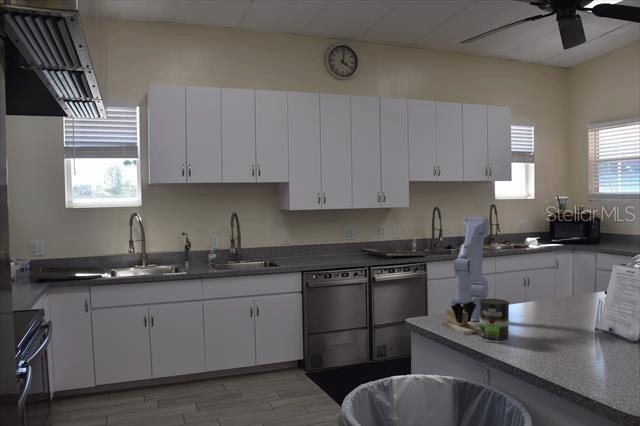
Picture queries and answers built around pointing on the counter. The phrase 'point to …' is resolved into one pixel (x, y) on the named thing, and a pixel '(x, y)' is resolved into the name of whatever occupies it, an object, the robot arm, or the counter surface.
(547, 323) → the counter surface
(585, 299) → the counter surface
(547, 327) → the counter surface
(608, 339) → the counter surface
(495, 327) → the coffee can
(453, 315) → the block
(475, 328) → the board
